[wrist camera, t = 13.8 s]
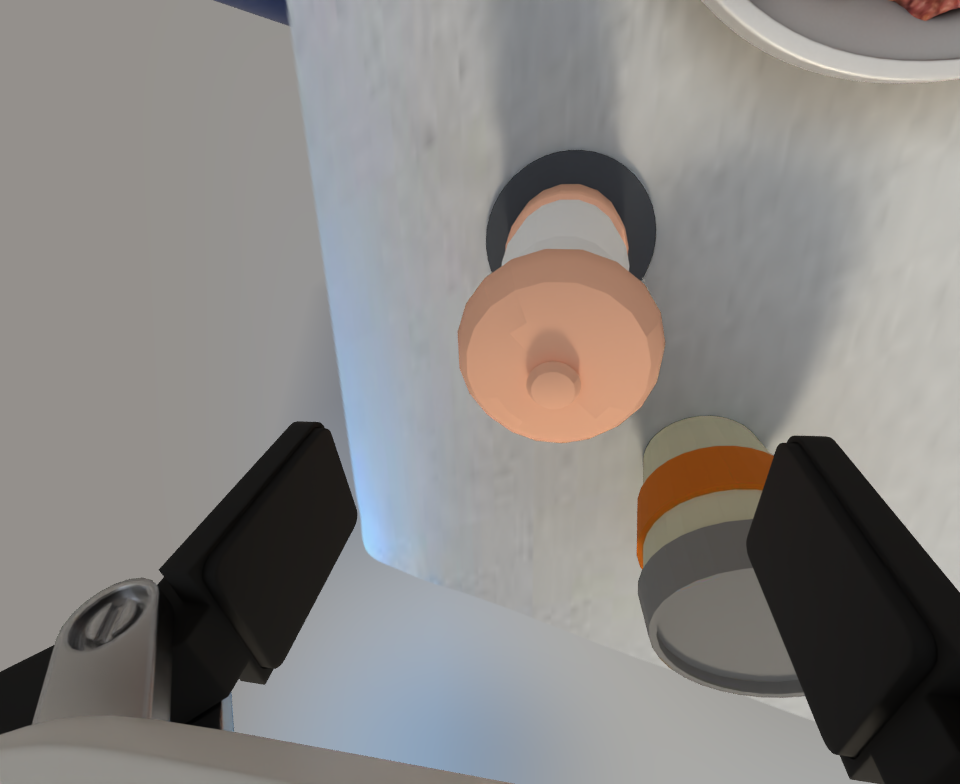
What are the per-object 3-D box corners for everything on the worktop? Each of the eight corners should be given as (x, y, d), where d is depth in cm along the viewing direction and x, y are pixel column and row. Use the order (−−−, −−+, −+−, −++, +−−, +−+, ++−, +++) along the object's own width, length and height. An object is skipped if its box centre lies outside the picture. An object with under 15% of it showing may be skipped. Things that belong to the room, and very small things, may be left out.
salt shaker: (503, 286, 31) (425, 458, 15) (522, 174, 27) (443, 246, 11) (605, 305, 30) (636, 507, 14) (639, 193, 27) (734, 300, 11)
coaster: (493, 321, 33) (492, 323, 33) (480, 158, 28) (479, 158, 27) (645, 319, 31) (646, 321, 31) (665, 141, 25) (666, 141, 25)
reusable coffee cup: (628, 393, 34) (659, 550, 22) (809, 399, 32) (962, 580, 19) (614, 508, 41) (631, 680, 28) (763, 520, 38) (856, 715, 26)
